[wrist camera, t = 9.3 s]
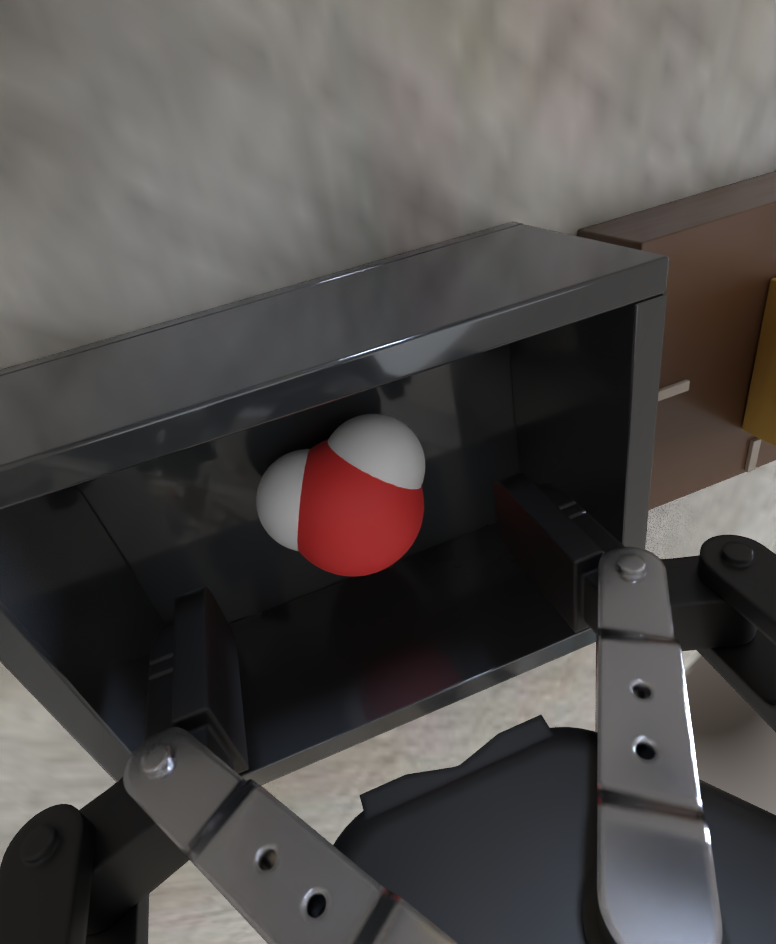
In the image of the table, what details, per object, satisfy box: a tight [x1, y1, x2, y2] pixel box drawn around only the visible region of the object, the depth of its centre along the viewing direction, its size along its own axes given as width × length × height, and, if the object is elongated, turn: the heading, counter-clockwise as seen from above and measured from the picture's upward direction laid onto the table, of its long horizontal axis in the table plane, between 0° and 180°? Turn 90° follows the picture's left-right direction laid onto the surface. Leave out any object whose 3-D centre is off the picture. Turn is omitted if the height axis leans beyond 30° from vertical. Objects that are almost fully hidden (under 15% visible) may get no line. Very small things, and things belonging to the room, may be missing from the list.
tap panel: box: [578, 171, 776, 510], centre depth 20 cm, size 10×11×3 cm
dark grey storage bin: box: [0, 222, 669, 786], centre depth 16 cm, size 12×16×7 cm
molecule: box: [256, 414, 425, 577], centre depth 16 cm, size 5×5×4 cm
